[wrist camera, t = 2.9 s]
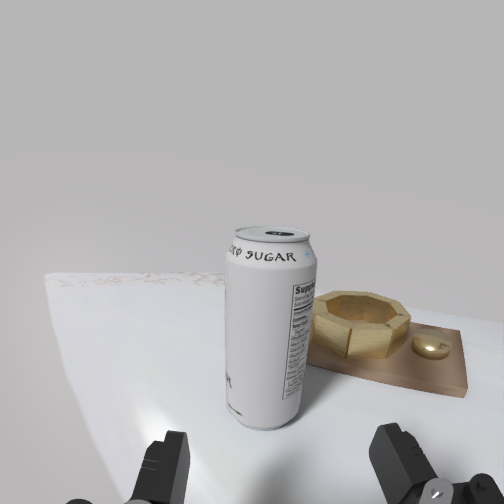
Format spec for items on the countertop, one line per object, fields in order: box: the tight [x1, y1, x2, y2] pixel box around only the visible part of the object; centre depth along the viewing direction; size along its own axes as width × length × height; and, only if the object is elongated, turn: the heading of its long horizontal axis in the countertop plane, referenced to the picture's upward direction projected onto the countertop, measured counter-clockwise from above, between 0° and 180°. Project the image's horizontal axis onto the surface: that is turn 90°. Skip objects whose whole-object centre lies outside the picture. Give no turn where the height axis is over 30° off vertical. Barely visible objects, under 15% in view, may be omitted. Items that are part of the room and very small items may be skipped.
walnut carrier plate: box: [306, 320, 468, 398], centre depth 33 cm, size 24×14×1 cm, turn 58°
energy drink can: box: [225, 226, 317, 431], centre depth 21 cm, size 6×6×15 cm
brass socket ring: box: [310, 291, 453, 360], centre depth 33 cm, size 17×12×4 cm
